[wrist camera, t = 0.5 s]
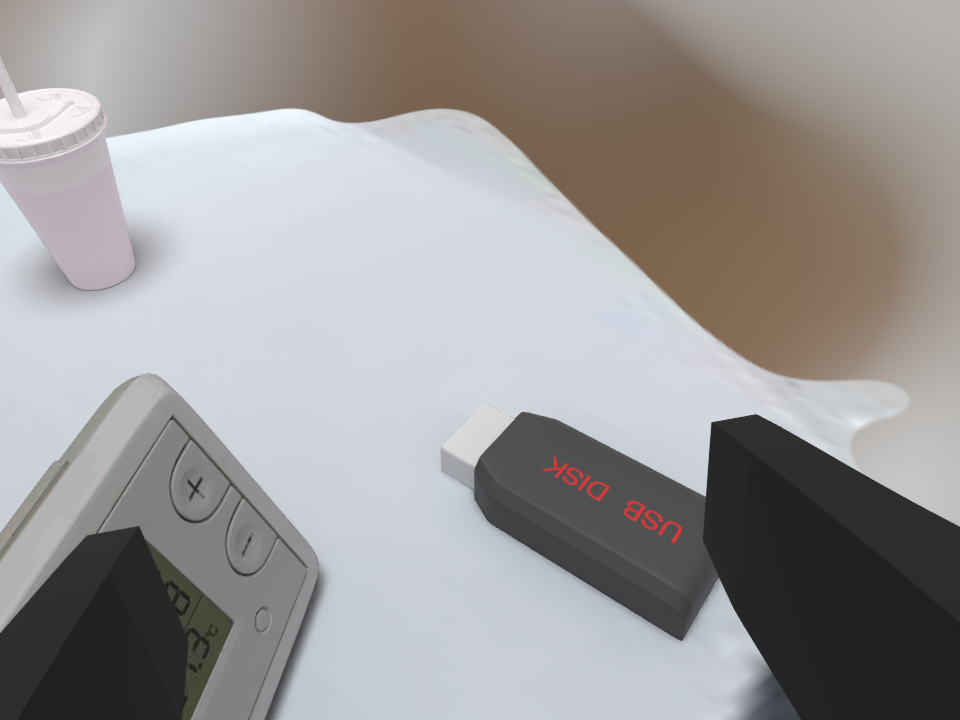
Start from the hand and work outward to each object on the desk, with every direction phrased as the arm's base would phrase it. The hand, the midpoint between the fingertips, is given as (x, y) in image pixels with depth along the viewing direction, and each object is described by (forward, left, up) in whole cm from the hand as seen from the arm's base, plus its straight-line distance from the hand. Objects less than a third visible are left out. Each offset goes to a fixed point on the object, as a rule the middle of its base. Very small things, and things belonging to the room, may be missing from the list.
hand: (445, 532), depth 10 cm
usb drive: (+9, -10, -19) cm, 24 cm away
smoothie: (+37, +4, -19) cm, 42 cm away
